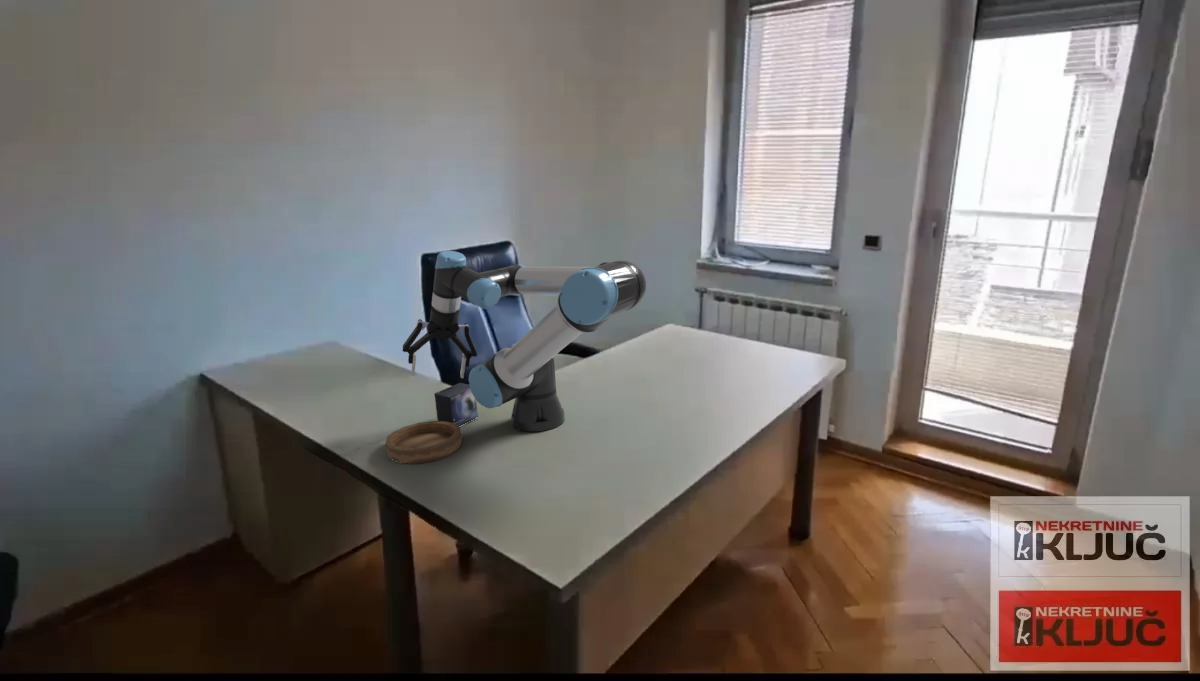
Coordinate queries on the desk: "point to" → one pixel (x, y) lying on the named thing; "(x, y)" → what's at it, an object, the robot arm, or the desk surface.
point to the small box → (456, 404)
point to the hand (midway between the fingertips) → (437, 374)
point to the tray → (424, 442)
